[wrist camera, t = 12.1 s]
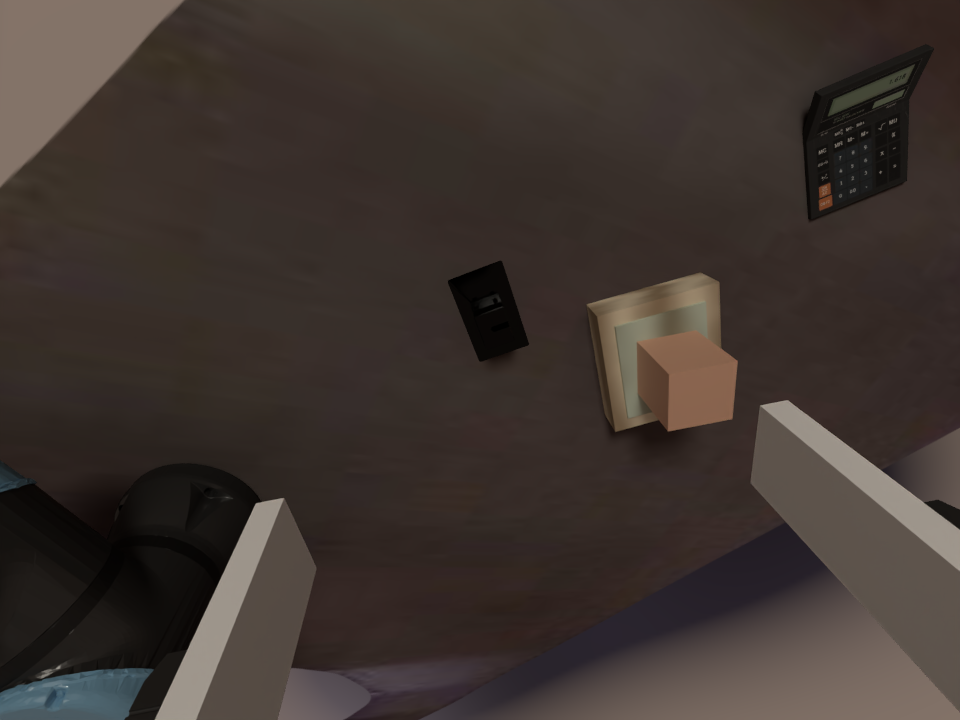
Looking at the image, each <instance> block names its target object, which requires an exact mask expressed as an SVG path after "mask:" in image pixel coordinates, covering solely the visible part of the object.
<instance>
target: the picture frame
mask: <svg viewBox="0 0 960 720" xmlns="http://www.w3.org/2000/svg"><path fill="white" fill-rule="evenodd" d="M587 311H588V317H589V323H590V329H591V335H592V341H593V347H594V353H595V359H596V365H597V371H598V377H599V383H600V389H601V395H602V401H603V407H604V413H605V416H606V417H607V419H608V421H609V422H610V424H611V425H612V427H613V429H614V430H615V432H617V431H620V430H624V429H628V428H631V427H635V426H639V425H642V424H646V423H649V422H653V421H657V420H658V418H657V417H656V416H655V414H654V413H653V412H652V411H651V409H650V408H649V407H648V406H647V404H646V403H645V402H644V401H643V399H642V398H641V397H640V396H639V394H638V384H637V341H643V340H648V339H653V338H658V337H663V336H669V335H674V334H679V333H684V332H689V331H695V330H697V331H698V332H699V333H701V334H702V335H703V336H705V337H706V338H707V339H709V340H710V341H711V342H713V343H714V344H715V345H717V346H718V347H719V348H721V327H720V293H719V282H718V281H716V280H714V279H712V278H710V277H708V276H706V275H704V274H702V273H697V274H693V275H690V276H686V277H683V278H679V279H676V280H672V281H668V282H665V283H661V284H658V285H654V286H651V287H647V288H644V289H640V290H636V291H633V292H629V293H626V294H622V295H619V296H615V297H612V298H608V299H604V300H601V301H597V302H594V303H590V304H587Z"/></svg>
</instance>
